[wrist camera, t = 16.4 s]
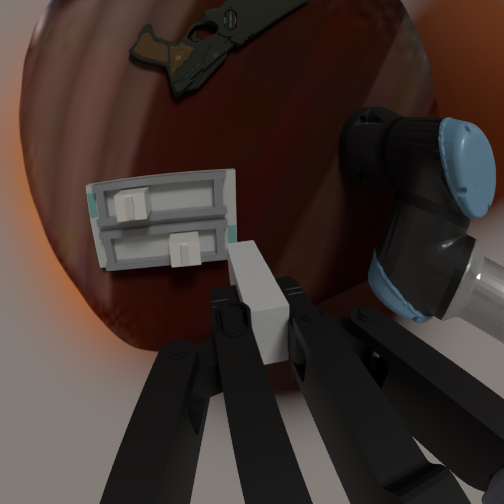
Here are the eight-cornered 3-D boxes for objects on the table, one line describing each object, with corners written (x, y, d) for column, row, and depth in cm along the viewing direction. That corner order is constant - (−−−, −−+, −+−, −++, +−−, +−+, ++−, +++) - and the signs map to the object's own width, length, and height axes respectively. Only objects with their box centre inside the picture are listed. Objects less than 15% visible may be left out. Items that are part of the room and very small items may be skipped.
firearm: (244, -51, 22) (313, -4, 28) (241, -44, 24) (308, 1, 30) (113, 54, 27) (193, 108, 33) (117, 59, 29) (192, 110, 35)
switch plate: (233, 168, 39) (237, 171, 37) (235, 250, 44) (238, 258, 42) (88, 183, 35) (82, 187, 32) (102, 263, 40) (97, 271, 37)
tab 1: (149, 185, 36) (143, 193, 31) (151, 209, 37) (146, 220, 32) (122, 189, 35) (112, 197, 30) (125, 212, 36) (116, 223, 31)
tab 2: (197, 228, 40) (199, 242, 35) (199, 250, 41) (201, 266, 36) (170, 231, 39) (168, 245, 34) (173, 252, 41) (171, 269, 36)
